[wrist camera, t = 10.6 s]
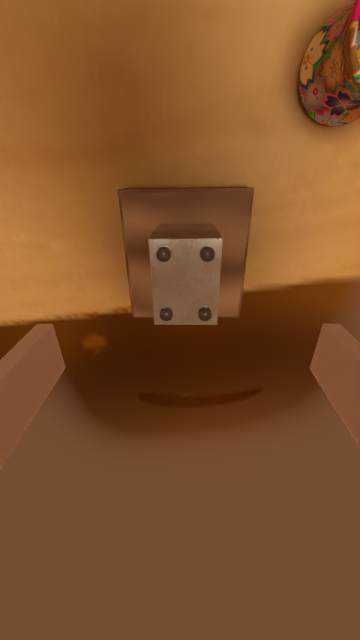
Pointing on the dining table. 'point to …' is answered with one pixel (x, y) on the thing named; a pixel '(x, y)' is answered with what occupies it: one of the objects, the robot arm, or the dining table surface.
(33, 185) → the dining table surface
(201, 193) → the stand
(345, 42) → the mug
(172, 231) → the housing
